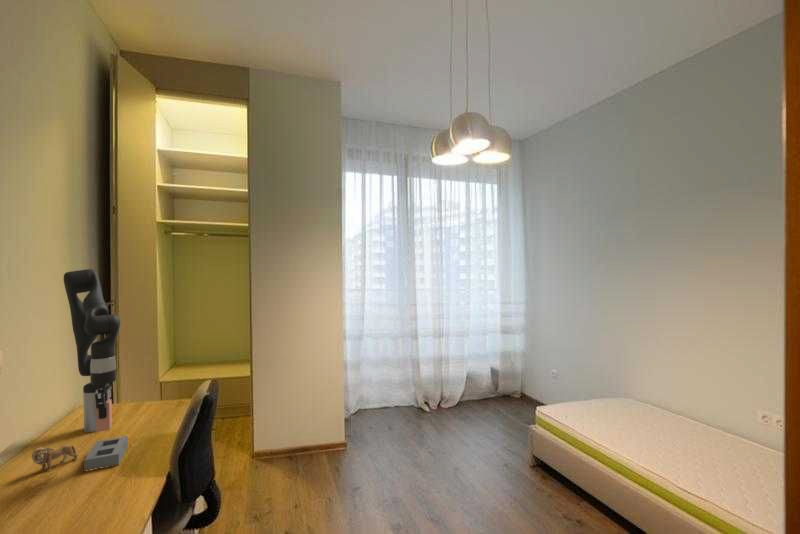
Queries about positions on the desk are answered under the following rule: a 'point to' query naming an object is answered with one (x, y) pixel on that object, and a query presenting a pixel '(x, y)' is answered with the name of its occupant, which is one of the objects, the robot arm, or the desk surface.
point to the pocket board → (106, 453)
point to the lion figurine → (52, 455)
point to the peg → (106, 422)
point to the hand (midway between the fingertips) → (104, 416)
